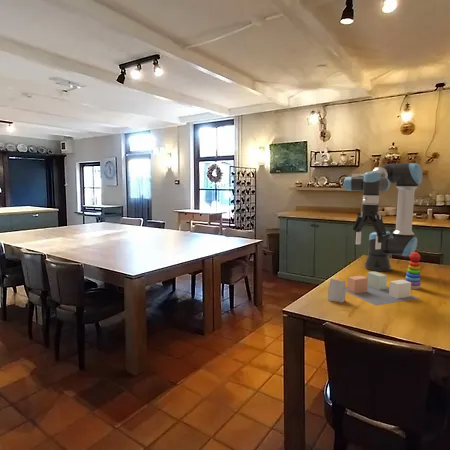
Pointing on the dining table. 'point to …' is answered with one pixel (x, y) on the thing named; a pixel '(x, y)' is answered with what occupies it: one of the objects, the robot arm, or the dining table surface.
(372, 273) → the sage brick
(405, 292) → the cream brick
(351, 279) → the terracotta brick
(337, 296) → the ivan-chai tea box
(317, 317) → the dining table surface
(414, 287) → the stacking toy
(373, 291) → the charcoal mat
